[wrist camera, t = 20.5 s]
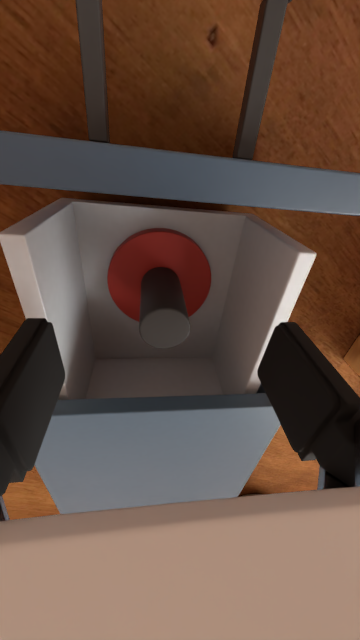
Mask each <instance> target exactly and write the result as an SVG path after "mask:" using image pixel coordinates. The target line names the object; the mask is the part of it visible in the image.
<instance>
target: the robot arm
mask: <svg viewBox="0 0 360 640" xmlns="http://www.w3.org/2000/svg"><path fill="white" fill-rule="evenodd" d="M257 374H258V378H259V380H260V382H261V384H262V386H263V388H264V390H265V392H266V395H267V397H268V399H269V401H270V403H271V405H272V407H273V409H274V411H275V413H276V415H277V417H278V420H279V422H280V424H281V426H282V428H283V430H284V432H285V434H286V436H287V438H288V440H289V443H290V445H291V447H292V448H293V450H294V451H295V452H298V455H299V457H300V459H301V461H307V460H315V459H317V461H318V463H319V465H320V468H319V478H318V488H317V490H310V491H299V492H288V493H277V494H266V495H255V496H244V497H233V498H223V499H212V500H201V501H191V502H180V503H170V504H159V505H149V506H139V507H129V508H119V509H109V510H99V511H89V512H79V513H69V514H59V515H50V516H42V517H33V518H25V519H16V520H9V516H8V513H7V510H6V507H5V503H4V500H3V497H2V495H3V494H4V493H5V491H6V489H7V486H8V484H9V483H13V482H23V480H24V477H25V475H26V472H27V471H31V470H32V468H33V467H34V464H35V462H36V459H37V456H38V453H39V450H40V448H41V445H42V442H43V439H44V437H45V434H46V431H47V428H48V425H49V423H50V420H51V417H52V414H53V411H54V409H55V406H56V403H57V400H58V397H59V395H60V392H61V389H62V386H63V384H64V380H65V370H64V366H63V362H62V358H61V354H60V351H59V347H58V343H57V339H56V335H55V331H54V328H53V324H52V323H51V322H47V320H46V319H45V318H27V319H26V320H25V321H24V323H23V324H22V326H21V327H20V328H19V330H18V331H17V333H16V334H15V335H14V337H13V338H12V340H11V341H10V342H9V344H8V345H7V347H6V348H5V349H4V351H3V352H2V354H1V355H0V640H360V398H359V396H358V395H357V394H356V393H355V392H354V391H353V389H352V388H351V387H350V386H349V385H348V383H347V382H346V381H345V380H344V379H343V378H342V376H341V375H340V374H339V373H338V372H337V370H336V369H335V368H334V367H333V366H332V364H331V363H330V362H329V361H328V360H327V359H326V357H325V356H324V355H323V354H322V353H321V351H320V350H319V349H318V348H317V347H316V346H315V344H314V343H313V342H312V341H311V340H310V338H309V337H308V336H307V335H306V334H305V333H304V331H303V330H302V329H301V328H300V327H299V325H298V324H297V323H295V322H281V323H280V324H279V325H278V326H276V327H275V328H274V331H273V333H272V336H271V338H270V340H269V343H268V345H267V348H266V350H265V353H264V355H263V358H262V360H261V362H260V365H259V367H258V371H257Z"/></svg>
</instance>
